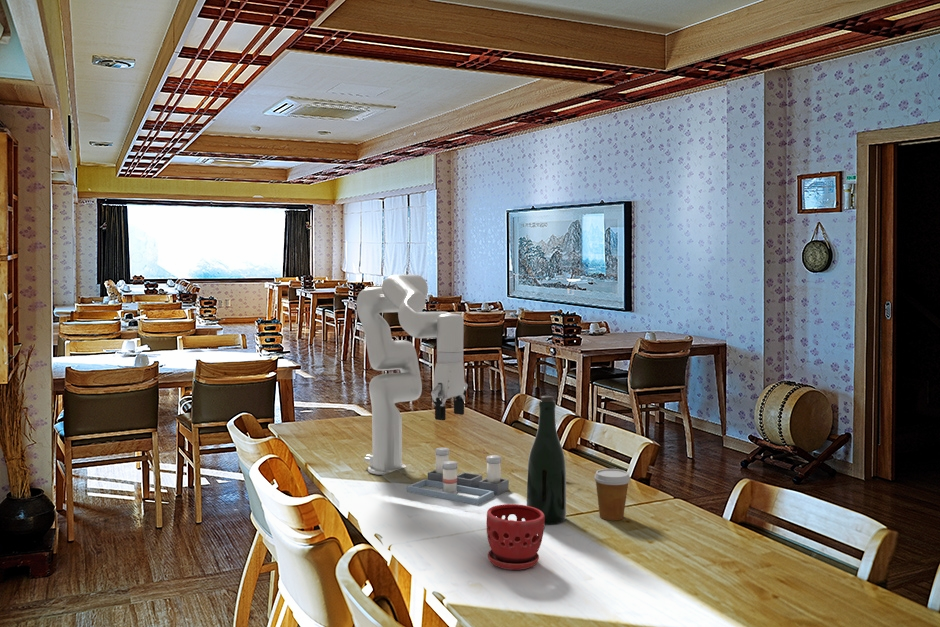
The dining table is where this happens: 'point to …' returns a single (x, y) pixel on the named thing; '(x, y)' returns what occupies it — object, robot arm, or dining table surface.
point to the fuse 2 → (494, 469)
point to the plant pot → (514, 536)
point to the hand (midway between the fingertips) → (449, 416)
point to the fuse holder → (474, 482)
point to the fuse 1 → (441, 459)
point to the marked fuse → (450, 477)
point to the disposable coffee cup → (611, 492)
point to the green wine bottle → (547, 467)
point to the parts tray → (416, 489)
